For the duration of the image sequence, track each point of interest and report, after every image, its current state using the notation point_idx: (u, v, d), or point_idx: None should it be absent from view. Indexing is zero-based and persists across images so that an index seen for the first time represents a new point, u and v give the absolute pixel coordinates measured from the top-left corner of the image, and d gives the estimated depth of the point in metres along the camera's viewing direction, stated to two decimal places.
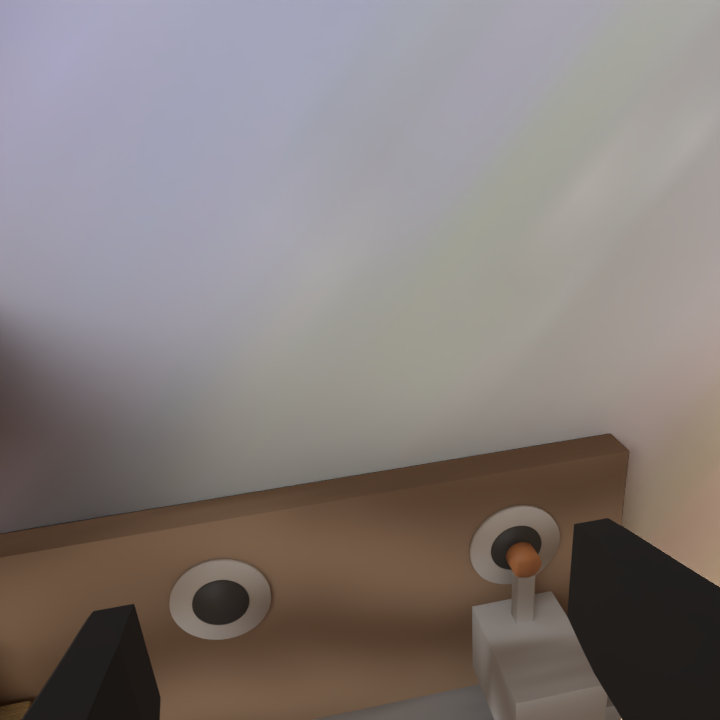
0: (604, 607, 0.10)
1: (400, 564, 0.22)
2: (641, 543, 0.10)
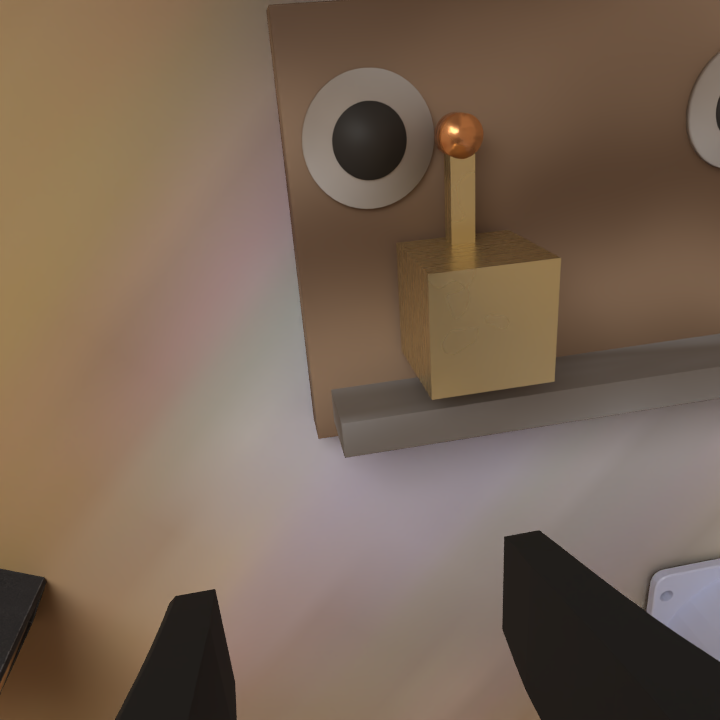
0: (530, 622, 0.10)
1: None
2: (566, 557, 0.09)
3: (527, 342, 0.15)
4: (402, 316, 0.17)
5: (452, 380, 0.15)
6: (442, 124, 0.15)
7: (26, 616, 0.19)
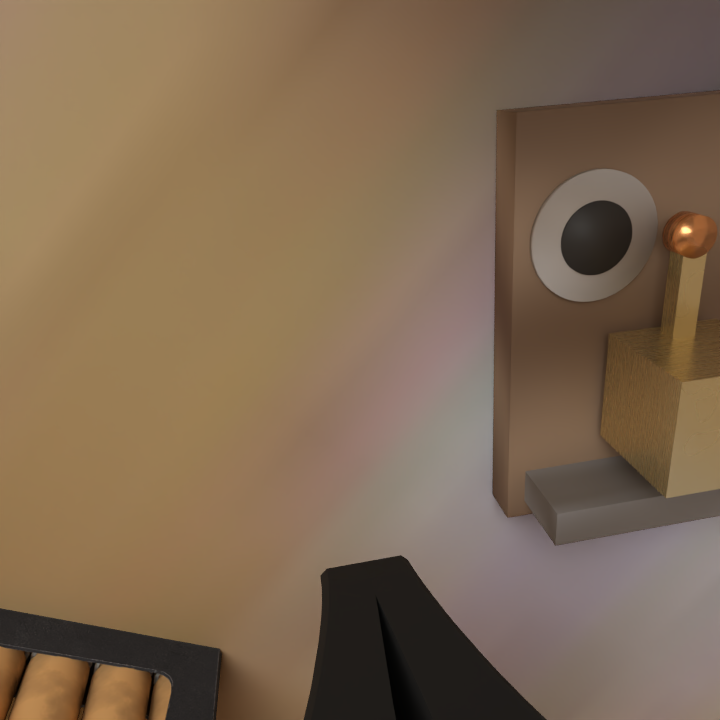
0: None
1: None
2: (414, 586, 0.09)
3: None
4: (610, 404, 0.17)
5: (687, 479, 0.15)
6: (677, 225, 0.15)
7: (215, 693, 0.19)
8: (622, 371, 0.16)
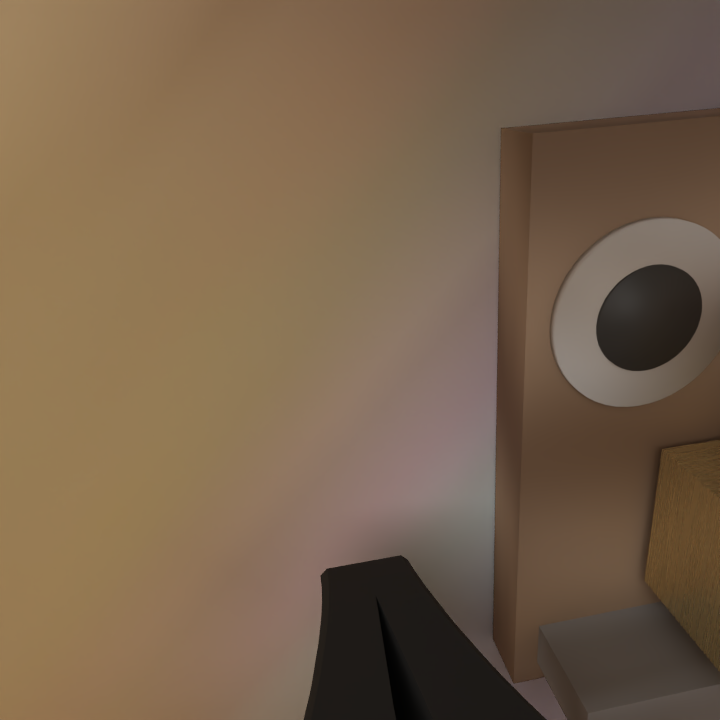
0: None
1: None
2: (414, 586, 0.09)
3: None
4: (661, 546, 0.12)
5: None
6: None
7: None
8: (683, 508, 0.11)
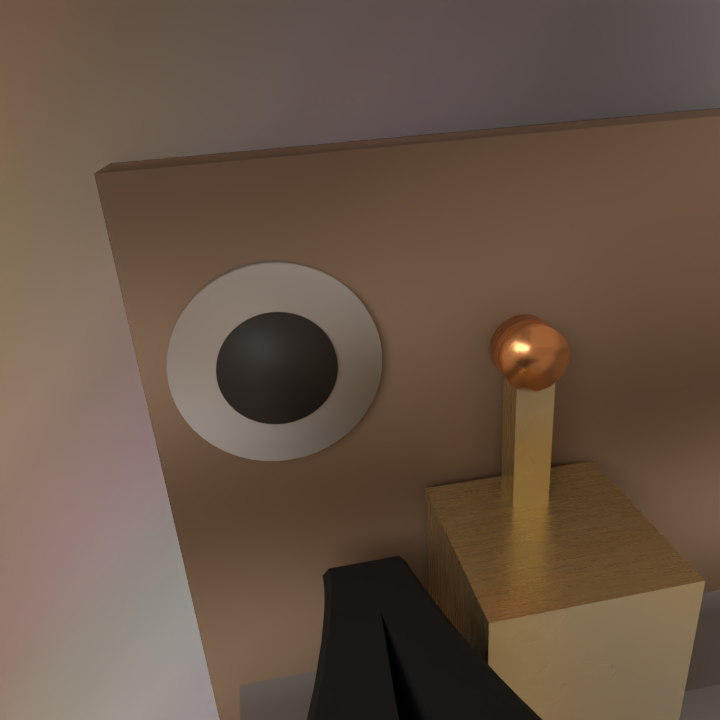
0: None
1: None
2: (412, 587, 0.09)
3: (640, 692, 0.09)
4: (433, 588, 0.11)
5: None
6: (505, 341, 0.09)
7: None
8: (439, 552, 0.10)
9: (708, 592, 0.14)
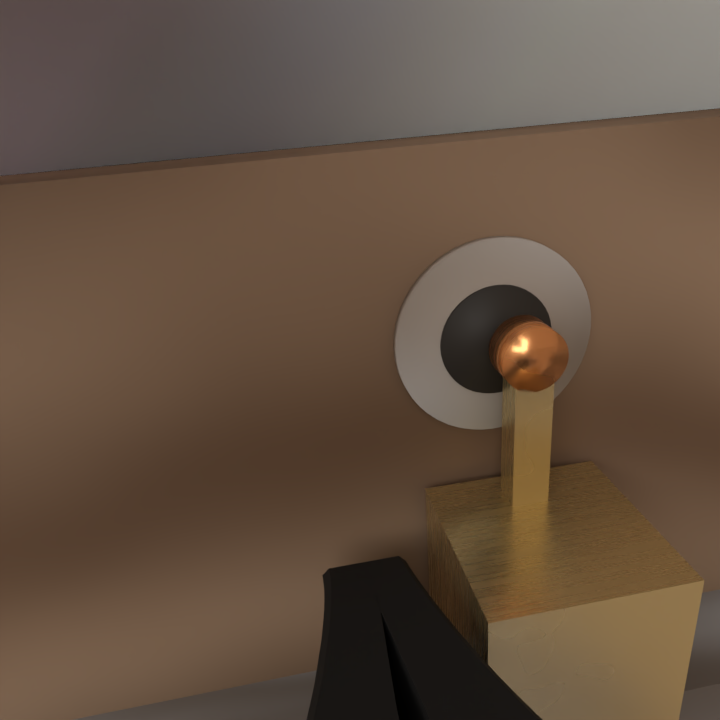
0: None
1: None
2: (412, 587, 0.09)
3: (640, 692, 0.09)
4: (433, 589, 0.11)
5: None
6: (504, 342, 0.09)
7: None
8: (439, 553, 0.10)
9: None
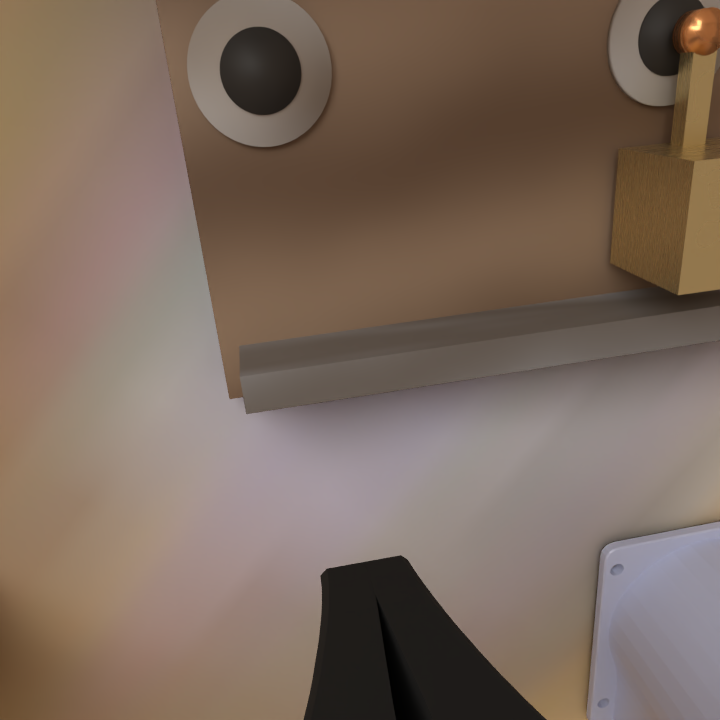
0: None
1: None
2: (414, 585, 0.09)
3: None
4: (620, 224, 0.17)
5: (700, 275, 0.15)
6: (687, 20, 0.15)
7: None
8: (632, 182, 0.16)
9: (585, 296, 0.18)
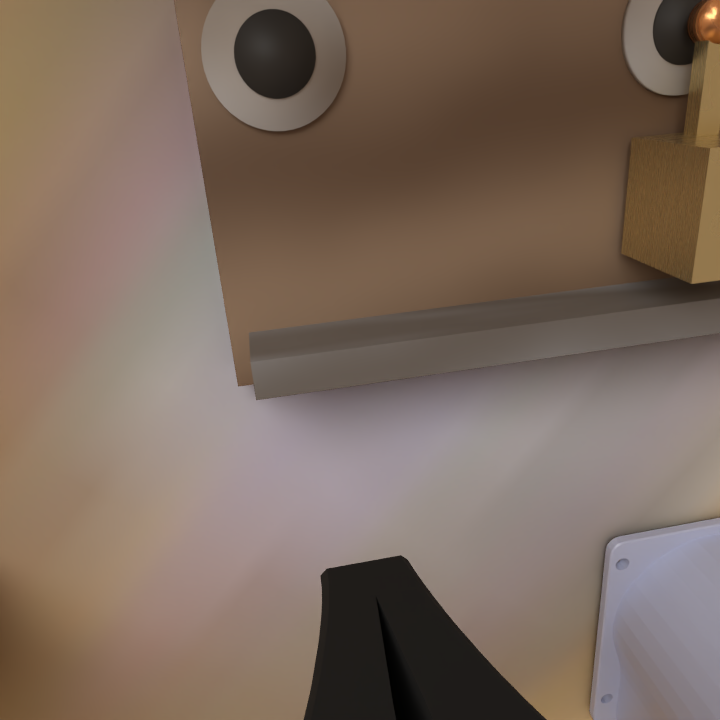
0: None
1: None
2: (414, 586, 0.09)
3: None
4: (632, 213, 0.17)
5: (713, 263, 0.15)
6: (703, 8, 0.15)
7: None
8: (645, 171, 0.16)
9: (596, 286, 0.18)
